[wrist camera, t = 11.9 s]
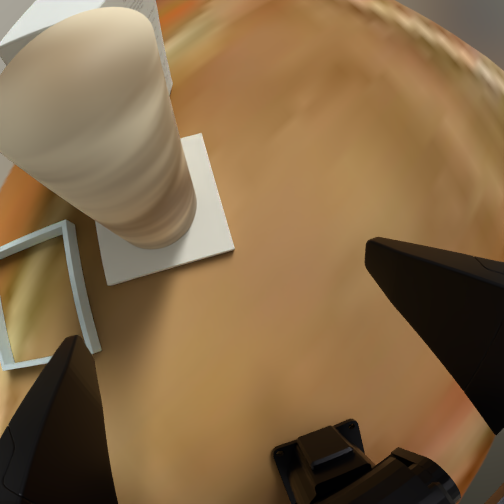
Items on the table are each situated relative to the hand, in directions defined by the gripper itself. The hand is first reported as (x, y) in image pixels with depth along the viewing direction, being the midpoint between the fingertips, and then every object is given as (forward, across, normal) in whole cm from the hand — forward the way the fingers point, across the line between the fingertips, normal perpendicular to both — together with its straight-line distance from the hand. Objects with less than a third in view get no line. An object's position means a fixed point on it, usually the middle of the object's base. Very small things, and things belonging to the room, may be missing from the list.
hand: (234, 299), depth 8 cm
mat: (+14, +2, +2) cm, 14 cm away
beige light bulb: (+14, +2, +1) cm, 14 cm away
